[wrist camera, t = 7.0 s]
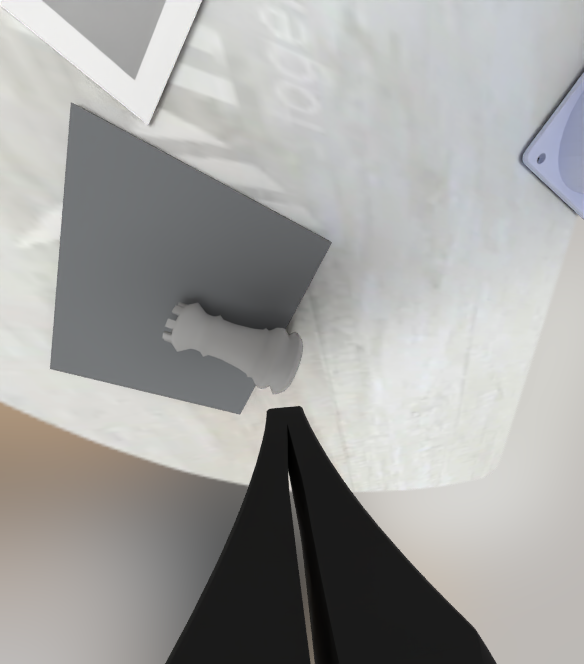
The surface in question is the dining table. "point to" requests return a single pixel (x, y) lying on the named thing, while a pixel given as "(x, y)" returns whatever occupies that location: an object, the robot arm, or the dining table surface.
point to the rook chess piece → (238, 345)
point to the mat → (165, 266)
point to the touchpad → (114, 41)
